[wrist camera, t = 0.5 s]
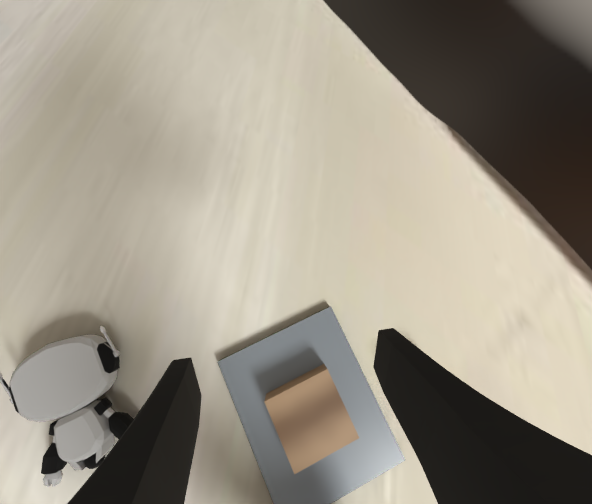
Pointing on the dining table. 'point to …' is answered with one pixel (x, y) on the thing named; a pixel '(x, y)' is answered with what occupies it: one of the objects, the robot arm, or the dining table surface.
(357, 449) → the baseplate
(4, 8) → the dining table surface
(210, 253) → the dining table surface
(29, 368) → the robot toy
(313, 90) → the dining table surface
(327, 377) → the walnut block
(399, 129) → the dining table surface
